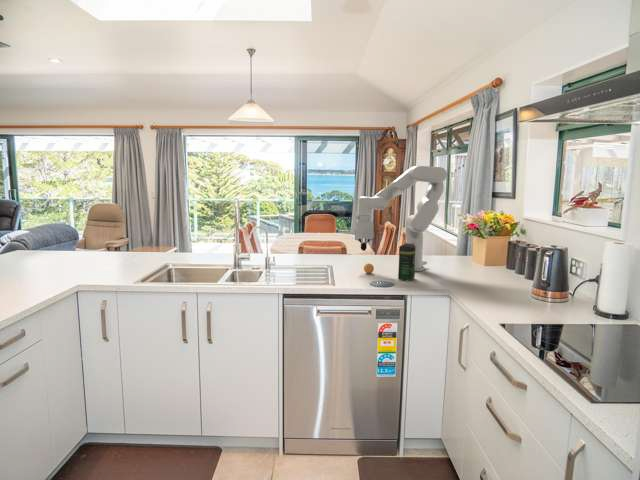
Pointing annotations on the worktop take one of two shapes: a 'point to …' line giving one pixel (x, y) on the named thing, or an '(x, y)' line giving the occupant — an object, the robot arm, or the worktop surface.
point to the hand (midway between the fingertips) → (363, 250)
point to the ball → (368, 268)
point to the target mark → (382, 284)
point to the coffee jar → (406, 262)
